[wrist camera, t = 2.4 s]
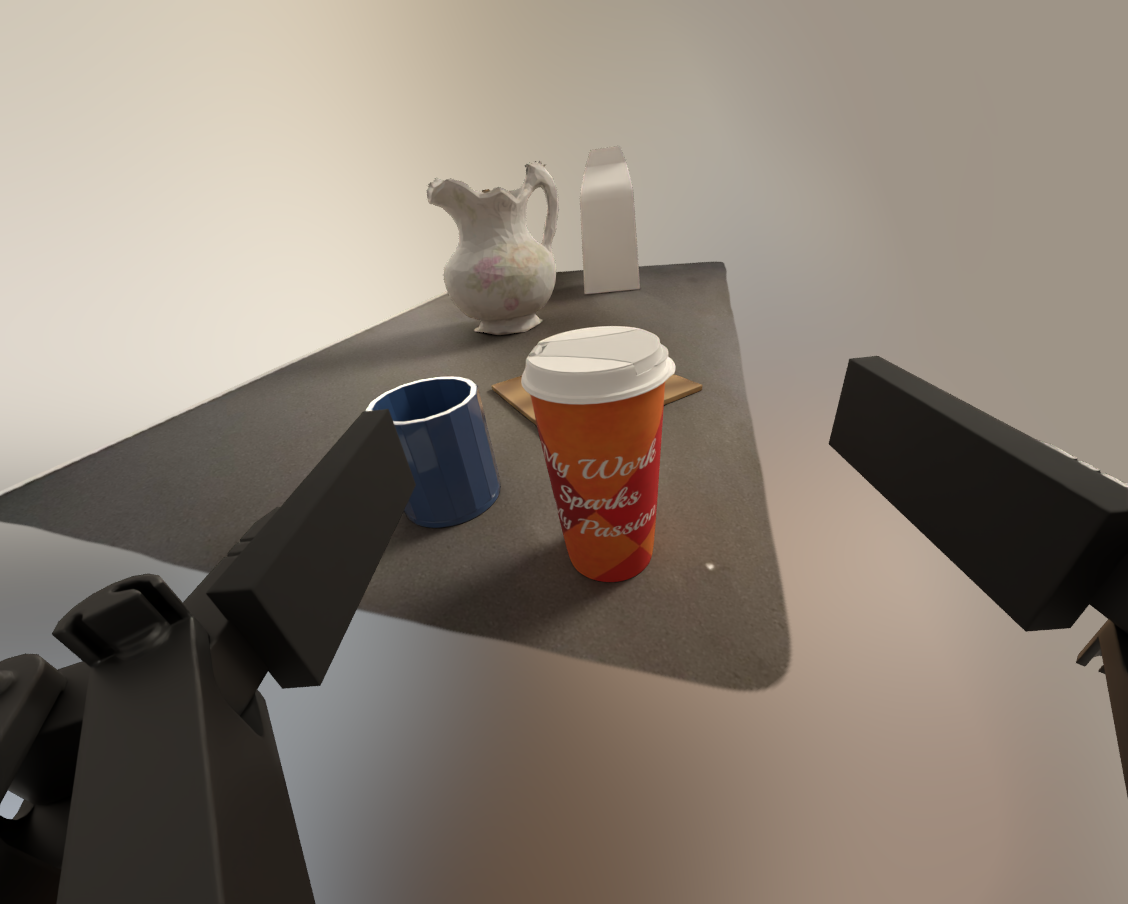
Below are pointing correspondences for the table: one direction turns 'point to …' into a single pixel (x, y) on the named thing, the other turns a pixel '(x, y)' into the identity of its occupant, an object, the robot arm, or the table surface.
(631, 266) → the milk
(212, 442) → the table surface
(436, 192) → the ceramic pitcher
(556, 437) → the paper cup
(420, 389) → the blue cup
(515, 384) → the wooden board
